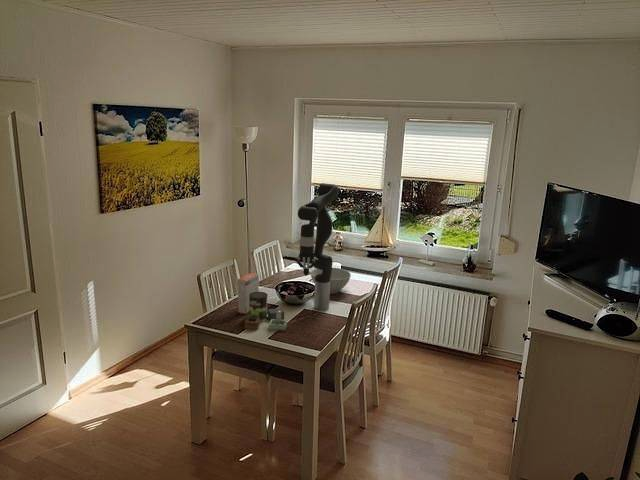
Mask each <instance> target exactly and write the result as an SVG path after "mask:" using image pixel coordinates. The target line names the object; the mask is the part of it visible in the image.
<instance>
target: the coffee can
mask: <svg viewBox="0 0 640 480" xmlns="http://www.w3.org/2000/svg"><path fill="white" fill-rule="evenodd" d="M268 295H269V294H268V293H267V292H264V291H259V292H253V293H250V294H249V313H248V315H249V316H248V317H257V318H260V322H263V321H266V320H267V319H268Z"/></svg>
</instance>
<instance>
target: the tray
mask: <svg viewBox="0 0 640 480" xmlns="http://www.w3.org/2000/svg"><path fill="white" fill-rule="evenodd" d="M269 321H270V320H269ZM287 327H288V320H287V319H281V324H276V320H275V319H271V321H270V322H269V323H268V330H269V331H270V330H271V331H286V329H287Z"/></svg>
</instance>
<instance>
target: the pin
mask: <svg viewBox="0 0 640 480" xmlns="http://www.w3.org/2000/svg"><path fill="white" fill-rule="evenodd" d="M281 320H282V319H281V310H277V311H276V324H281Z"/></svg>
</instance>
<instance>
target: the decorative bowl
mask: <svg viewBox="0 0 640 480" xmlns="http://www.w3.org/2000/svg"><path fill="white" fill-rule="evenodd" d="M317 274H322V270H320V269H316V268H314V269H313V270H311V271H310V277H311V280H312V282H313V283H314V285H315V276H316V275H317ZM350 280H351V273H350V272H349V270H346V269H343V268H338V267H332V274H331V278H330V295H332V294H337V293H340V290H343V289H344V288H345V287H346V285H347V284H348V283H349V281H350Z"/></svg>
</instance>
